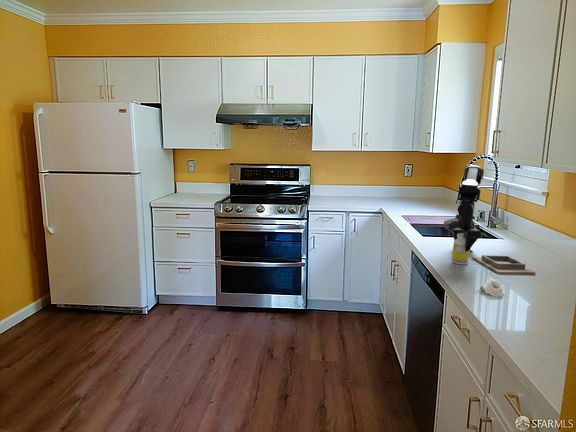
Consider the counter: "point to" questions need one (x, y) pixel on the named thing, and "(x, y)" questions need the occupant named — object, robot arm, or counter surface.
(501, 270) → the holder board
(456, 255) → the supplement bottle
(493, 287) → the whipped cream
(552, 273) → the counter surface
